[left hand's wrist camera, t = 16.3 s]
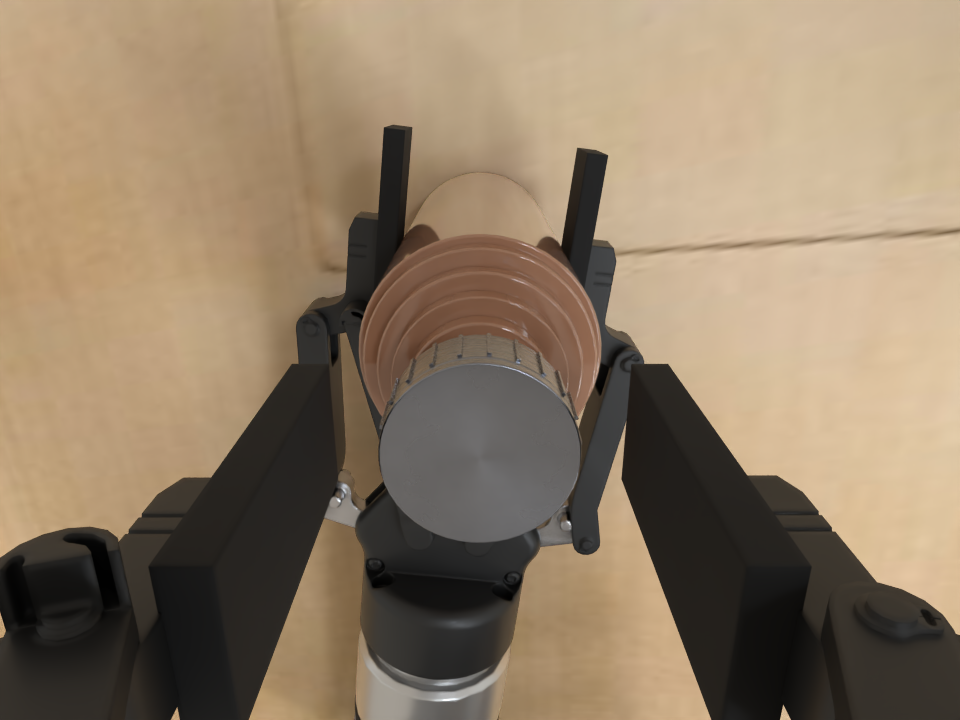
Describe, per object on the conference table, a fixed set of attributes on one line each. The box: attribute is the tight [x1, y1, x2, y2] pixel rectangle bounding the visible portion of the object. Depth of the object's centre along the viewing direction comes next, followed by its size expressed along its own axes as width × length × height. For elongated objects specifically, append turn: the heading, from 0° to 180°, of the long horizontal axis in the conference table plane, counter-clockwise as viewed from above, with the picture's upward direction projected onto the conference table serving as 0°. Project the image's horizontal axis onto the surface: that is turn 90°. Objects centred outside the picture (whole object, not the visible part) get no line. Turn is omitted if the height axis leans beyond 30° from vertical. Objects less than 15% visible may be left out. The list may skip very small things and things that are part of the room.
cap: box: [378, 333, 582, 543], centre depth 14 cm, size 4×4×2 cm
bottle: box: [359, 172, 601, 416], centre depth 23 cm, size 6×6×21 cm
